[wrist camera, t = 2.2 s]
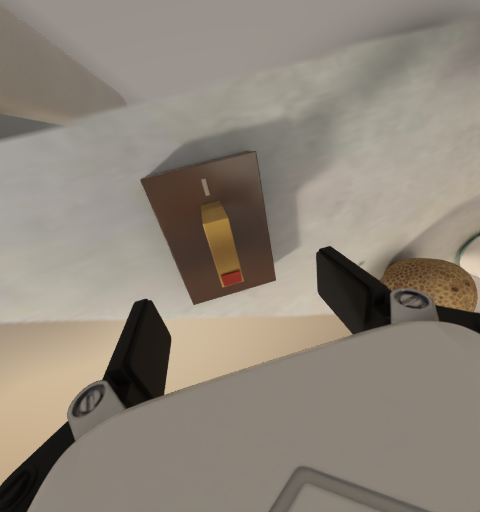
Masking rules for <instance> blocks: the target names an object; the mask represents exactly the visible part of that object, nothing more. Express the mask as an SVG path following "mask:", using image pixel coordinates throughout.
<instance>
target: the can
mask: <svg viewBox="0 0 480 512" xmlns="http://www.w3.org/2000/svg"><path fill="white" fill-rule="evenodd" d="M460 267H462V268H463V269H464V270H465V271H466V272H468V273H470V274H472V275H475V276H477V277H479V278H480V236H478V237H476V238H474V239H473V240H472V241H470V242H469V243H468V244H467V245H466V246H465V248H464V249H463V251H462V252H461V255H460Z"/></svg>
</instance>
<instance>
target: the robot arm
mask: <svg viewBox="0 0 480 512" xmlns="http://www.w3.org/2000/svg"><path fill="white" fill-rule="evenodd" d="M316 262H317V288H318V293H319V295H320V296H321V298H322V299H323V300H324V301H325V302H326V303H327V305H328V306H329V307H330V308H331V309H332V310H333V312H334V313H335V314H336V315H337V316H338V317H339V318H340V320H341V321H342V322H343V323H344V324H345V326H346V327H347V328H348V329H349V330H350V331H351V333H352V334H353V335H350V336H347V337H343V338H340V339H337V340H334V341H331V342H327V343H324V344H321V345H318V346H315V347H311V348H308V349H305V350H302V351H299V352H296V353H292V354H290V355H286V356H283V357H280V358H276V359H273V360H270V361H267V362H264V363H261V364H258V365H254V366H251V367H248V368H245V369H242V370H239V371H236V372H233V373H230V374H226V375H223V376H220V377H217V378H214V379H211V380H208V381H205V382H202V383H199V384H196V385H193V386H189V387H187V388H183V389H180V390H178V391H175V392H172V393H169V394H166V395H164V391H165V384H166V376H167V369H168V361H169V354H170V347H171V335H170V333H169V331H168V329H167V327H166V326H165V324H164V322H163V320H162V318H161V316H160V315H159V313H158V311H157V309H156V307H155V305H154V304H153V302H152V301H151V300H148V299H143V300H140V301H136V302H135V303H134V305H133V307H132V309H131V312H130V314H129V317H128V319H127V322H126V324H125V326H124V329H123V331H122V334H121V336H120V338H119V341H118V343H117V346H116V348H115V350H114V353H113V355H112V358H111V360H110V362H109V365H108V367H107V370H106V372H105V375H104V377H103V379H102V380H100V381H96V382H94V383H92V384H90V385H88V386H87V387H86V388H84V389H83V390H82V391H81V392H80V393H79V394H78V395H77V396H76V397H75V398H74V400H73V401H72V403H71V405H70V406H69V409H68V412H67V418H68V421H67V422H66V423H65V424H64V425H63V426H62V427H61V428H60V429H59V430H58V431H57V432H56V433H55V434H53V435H52V436H51V437H50V438H49V439H48V440H47V441H46V442H45V443H44V444H43V445H42V446H41V447H39V448H38V449H37V450H36V451H35V452H34V453H33V454H32V455H31V456H30V457H29V458H28V459H27V460H26V461H25V462H23V463H22V464H21V465H20V466H19V467H18V468H17V469H16V470H15V471H14V472H13V473H12V474H11V475H10V476H9V477H8V478H7V479H6V480H5V481H4V482H3V483H2V485H1V486H0V512H480V313H475V312H470V311H465V310H459V309H454V308H449V307H444V306H438V305H435V303H434V301H433V299H432V298H431V297H430V296H429V295H427V294H425V293H424V292H421V291H419V290H416V289H411V288H398V289H395V290H393V291H391V290H390V289H388V288H387V286H386V285H384V284H383V283H382V282H380V281H379V280H377V279H376V278H375V277H373V276H372V275H370V274H369V273H367V272H366V271H365V270H363V269H362V268H360V267H359V266H358V265H356V264H355V263H353V262H352V261H351V260H349V259H348V258H346V257H345V256H344V255H342V254H341V253H339V252H338V251H336V250H335V249H334V248H332V247H331V246H328V247H325V248H321V249H319V252H317V253H316Z"/></svg>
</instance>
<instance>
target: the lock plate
mask: <svg viewBox="0 0 480 512" xmlns="http://www.w3.org/2000/svg"><path fill="white" fill-rule="evenodd" d="M141 183H142V185H143V187H144V190H145V192H146V195H147V197H148V199H149V202H150V204H151V206H152V209H153V211H154V213H155V216H156V218H157V220H158V223H159V225H160V227H161V230H162V232H163V234H164V237H165V239H166V241H167V244H168V246H169V248H170V251H171V253H172V255H173V258H174V260H175V262H176V265H177V267H178V269H179V272H180V274H181V276H182V279H183V281H184V284H185V286H186V288H187V291H188V293H189V295H190V298H191V300H192V302H193V305H195V304H199V303H202V302H205V301H209V300H212V299H216V298H219V297H222V296H226V295H229V294H232V293H236V292H239V291H242V290H246V289H249V288H252V287H256V286H259V285H262V284H266V283H269V282H272V281H276V277H275V271H274V264H273V258H272V251H271V245H270V238H269V232H268V226H267V219H266V213H265V206H264V200H263V193H262V187H261V180H260V174H259V167H258V161H257V154H256V151H245V152H241V153H237V154H232V155H228V156H224V157H220V158H216V159H212V160H208V161H204V162H200V163H196V164H192V165H188V166H184V167H180V168H176V169H172V170H168V171H164V172H160V173H156V174H152V175H148V176H146V177H144V178H142V179H141ZM216 201H220V202H221V204H222V206H223V208H224V210H225V212H226V214H227V216H228V219H229V223H230V227H231V231H232V235H233V239H234V243H235V247H236V251H237V255H238V259H239V263H240V267H241V271H242V275H243V279H244V281H243V282H239V283H236V284H232V285H229V286H226V287H222V284H221V281H220V278H219V274H218V271H217V268H216V265H215V262H214V259H213V255H212V252H211V249H210V246H209V243H208V240H207V237H206V233H205V230H204V227H203V223H202V214H201V205H204V204H208V203H212V202H216Z"/></svg>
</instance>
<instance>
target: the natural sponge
mask: <svg viewBox="0 0 480 512" xmlns="http://www.w3.org/2000/svg"><path fill="white" fill-rule="evenodd" d="M380 282H382V283H383V284H384V285H386V286H387V288H388V289H390V290H391V291H393V290H395V289H398V288H411V289H416V290H419V291H421V292H424V293H425V294H427V295H429V296H430V297H431V298H432V299H433V301H434V303H435V305H438V306H444V307H449V308H454V309H459V310H465V311H470V312H474V310H475V307H476V304H477V299H478V298H477V289H476V285H475V282H474V281H473V279H472V277H471V276H470V275H469V274H468V272H466V271H465V270H464V269H463V268H462V267H460V266H458V265H456V264H454V263H451V262H447V261H444V260H438V259H426V258H413V259H406V260H401V261H399V262H396V263H394V264H392V265H391V266H390V267H388V268H387V270H386V271H385V273H384V276H383V277H382V279H381V280H380Z"/></svg>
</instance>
